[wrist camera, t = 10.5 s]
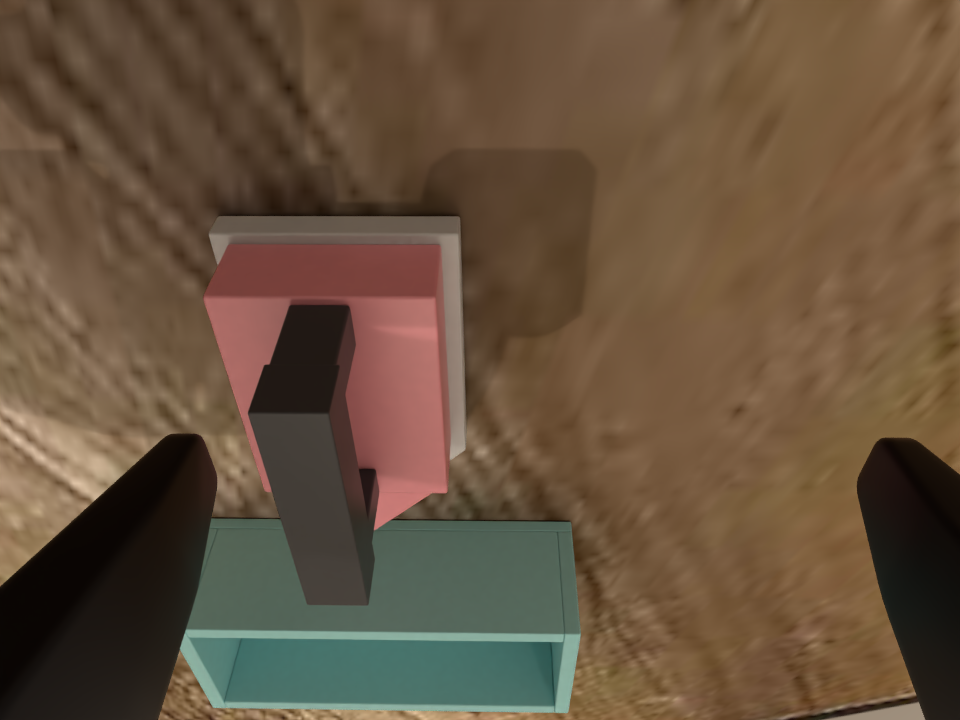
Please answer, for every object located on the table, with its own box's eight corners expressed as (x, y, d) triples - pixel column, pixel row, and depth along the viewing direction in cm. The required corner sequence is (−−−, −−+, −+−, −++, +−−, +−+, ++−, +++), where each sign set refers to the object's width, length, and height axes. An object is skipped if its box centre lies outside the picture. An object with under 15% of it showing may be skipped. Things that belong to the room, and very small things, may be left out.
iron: (217, 214, 21) (120, 396, 16) (460, 214, 21) (447, 397, 16) (293, 488, 30) (247, 668, 24) (468, 489, 30) (462, 671, 24)
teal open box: (242, 602, 36) (213, 708, 32) (207, 517, 31) (167, 629, 28) (560, 606, 35) (568, 713, 32) (571, 521, 31) (581, 634, 27)
